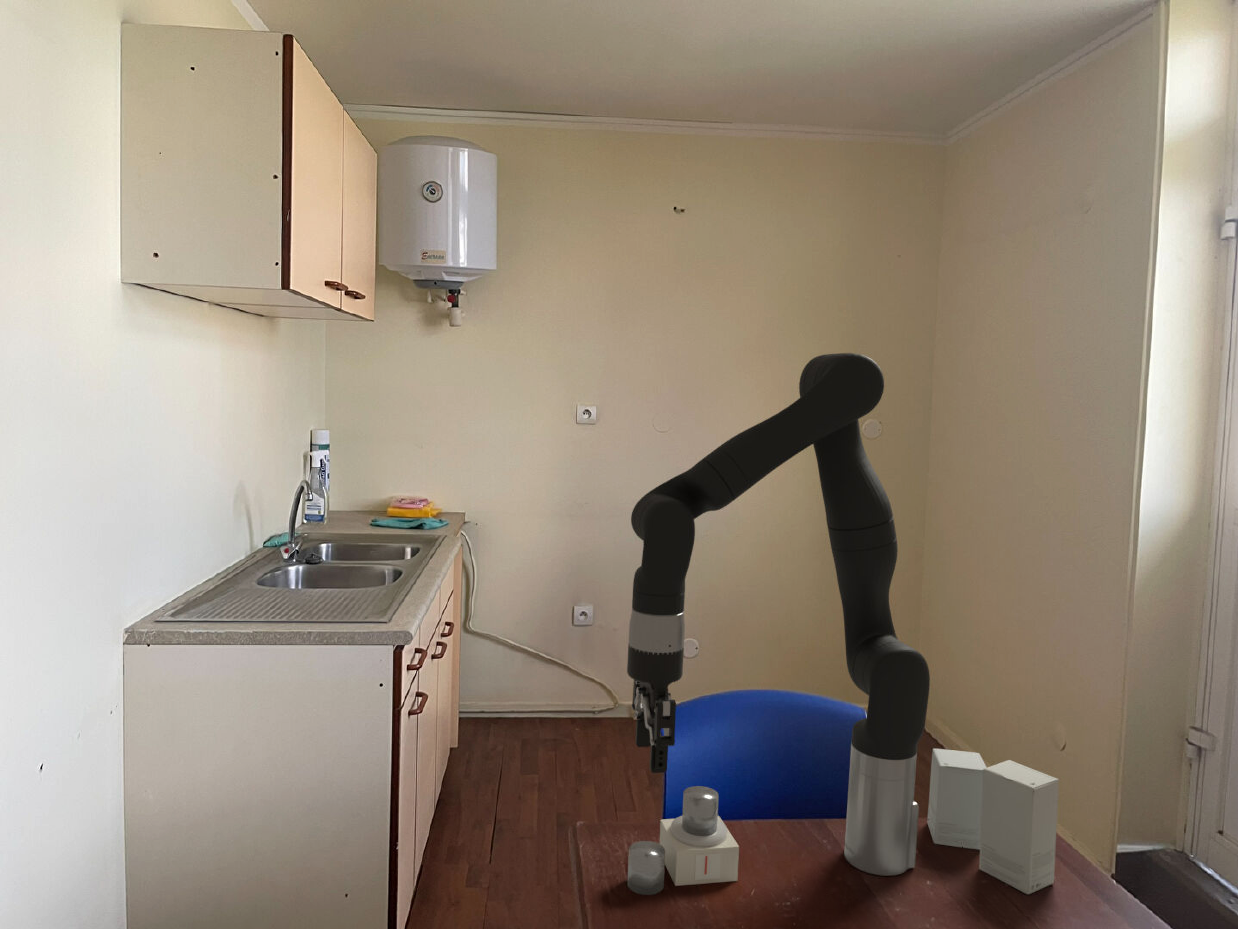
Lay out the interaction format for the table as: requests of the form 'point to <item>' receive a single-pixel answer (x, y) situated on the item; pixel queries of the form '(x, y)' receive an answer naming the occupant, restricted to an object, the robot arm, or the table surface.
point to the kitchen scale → (699, 854)
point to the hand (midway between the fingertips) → (650, 758)
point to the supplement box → (956, 798)
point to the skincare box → (1019, 826)
